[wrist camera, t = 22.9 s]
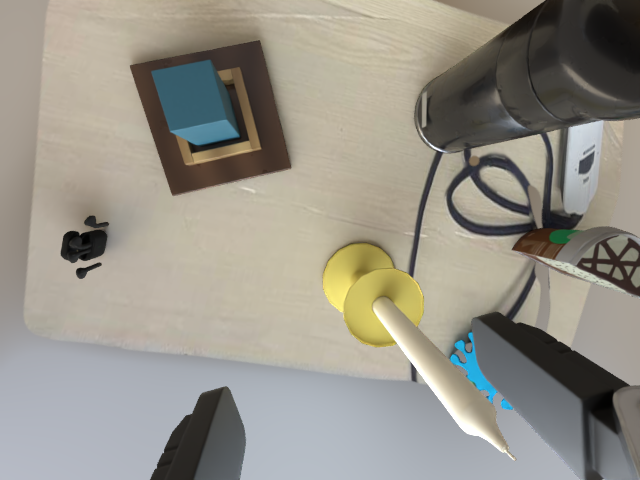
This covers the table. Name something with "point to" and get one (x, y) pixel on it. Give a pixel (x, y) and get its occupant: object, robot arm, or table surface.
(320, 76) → the table surface
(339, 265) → the candle
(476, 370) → the blue branched piece
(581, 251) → the food container
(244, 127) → the square wooden socket base
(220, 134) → the post block
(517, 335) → the robot arm
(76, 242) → the wireless earbuds
